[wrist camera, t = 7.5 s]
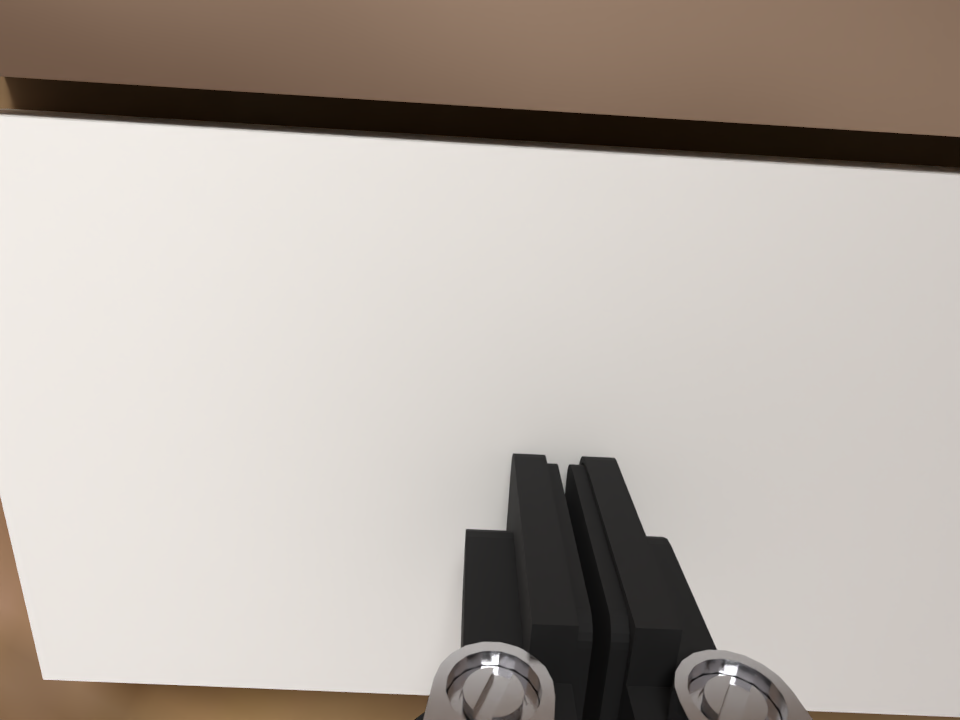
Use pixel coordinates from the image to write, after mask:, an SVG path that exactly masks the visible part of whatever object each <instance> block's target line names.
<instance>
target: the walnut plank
mask: <svg viewBox="0 0 960 720" xmlns="http://www.w3.org/2000/svg"><path fill="white" fill-rule="evenodd" d="M0 76H3V77H18V78H34V79H50V80H66V81H82V82H98V83H114V84H129V85H145V86H161V87H177V88H193V89H209V90H225V91H240V92H256V93H272V94H288V95H304V96H320V97H336V98H351V99H367V100H383V101H399V102H415V103H431V104H447V105H462V106H478V107H494V108H510V109H526V110H542V111H558V112H573V113H589V114H605V115H621V116H637V117H653V118H669V119H684V120H700V121H716V122H732V123H748V124H764V125H780V126H795V127H811V128H827V129H843V130H859V131H875V132H891V133H906V134H922V135H938V136H954V137H960V0H0Z"/></svg>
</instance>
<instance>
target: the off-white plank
mask: <svg viewBox="0 0 960 720" xmlns="http://www.w3.org/2000/svg"><path fill="white" fill-rule="evenodd" d="M513 453H516V454H540V455H545V456H546V459H547V463H552V464H558V466H559V471H560V475H561V480H562V484H563V489H564V493H565V488H566V479H567V471H568V466H569V464H576V465H579V462H580V459H581V457H582V456H587V457H611V458H615V459H616V460H617V463H618V465H619V468H620V470H621V473H622V476H623V478H624V481H625V483H626V486H627V488H628V491H629V493H630V496H631V499H632V501H633V504H634V506H635V509H636V511H637V514H638V516H639V519H640V521H641V524H642V527H643V529H644V532H645V534H646V536H657V537H665V538H667V539H668V541H669V543H670V544H671V546H672V549H673V551H674V553H675V555H676V558H677V560H678V562H679V564H680V567H681V569H682V571H683V573H684V576H685V578H686V580H687V583H688V585H689V587H690V589H691V592H692V594H693V596H694V598H695V601H696V603H697V605H698V608H699V610H700V612H701V614H702V617H703V619H704V621H705V623H706V626H707V628H708V630H709V633H710V635H711V637H712V639H713V642H714V644H715V646H716V648H717V650H726V651H730V652H734V653H738V654H741V655H745V656H747V657H749V658H751V659H753V660H755V661H757V662H759V663H762V664H763V665H765V666H766V667H767V668H769V669H770V670H772V671H773V672H774V673H776V674H777V675H778V676H779V677H780V678H781V679H782V680H783V681H784V682H785V683H786V684H787V685H788V686H789V688H790V689H791V690H792V691H793V692H794V694H795V695H796V697H797V698H798V699H799V701H800V702H801V704H802V705H803V706H804V708H805V709H806V711H823V712H847V713H871V714H896V715H920V716H944V717H960V168H959V167H943V166H927V165H910V164H894V163H878V162H862V161H846V160H830V159H814V158H797V157H781V156H765V155H749V154H733V153H717V152H700V151H684V150H668V149H652V148H636V147H620V146H604V145H587V144H571V143H555V142H539V141H523V140H507V139H490V138H474V137H458V136H442V135H426V134H410V133H394V132H377V131H361V130H345V129H329V128H313V127H297V126H280V125H264V124H248V123H232V122H216V121H200V120H184V119H167V118H151V117H135V116H119V115H103V114H87V113H70V112H54V111H38V110H22V109H0V496H1V501H2V505H3V509H4V513H5V518H6V522H7V526H8V531H9V535H10V539H11V544H12V548H13V552H14V556H15V561H16V565H17V569H18V574H19V578H20V582H21V586H22V591H23V595H24V599H25V604H26V608H27V612H28V616H29V621H30V625H31V629H32V634H33V638H34V642H35V646H36V651H37V655H38V659H39V664H40V668H41V672H42V676H43V679H44V680H68V681H93V682H117V683H141V684H166V685H190V686H214V687H239V688H263V689H287V690H312V691H336V692H360V693H385V694H409V695H430V691H431V687H432V683H433V679H434V677H435V675H436V672H437V670H438V668H439V666H440V664H441V663H442V662H443V661H444V660H445V659H446V658H447V657H448V656H449V655H450V654H451V653H453V652H455V651H456V650H458V649H460V648H461V621H462V594H463V571H464V551H465V533H466V529H480V530H505V531H506V527H507V513H508V500H509V487H510V474H511V462H512V455H513Z"/></svg>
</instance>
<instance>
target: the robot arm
mask: <svg viewBox="0 0 960 720" xmlns="http://www.w3.org/2000/svg"><path fill="white" fill-rule="evenodd" d="M415 720H813V719H812V718H811V716H810V715H809V714H808V712H807V711H806V709H805V708H804V706H803V705H802V704H801V702H800V701H799V699H798V698H797V697H796V695H795V694H794V692H793V691H792V690H791V689H790V688H789V686H788V685H787V684H786V683H785V682H784V681H783V680H782V679H781V678H780V677H779V676H778V675H777V674H776V673H774V672H773V671H772V670H770V669H769V668H767V667H766V666H765V665H763V664H762V663H759V662H757V661H755V660H753V659H751V658H749V657H747V656H745V655H741V654H738V653H734V652H730V651H726V650H717V648H716V646H715V644H714V642H713V639H712V637H711V635H710V633H709V630H708V628H707V626H706V623H705V621H704V619H703V617H702V614H701V612H700V610H699V608H698V605H697V603H696V601H695V598H694V596H693V594H692V592H691V589H690V587H689V585H688V583H687V580H686V578H685V576H684V573H683V571H682V569H681V567H680V564H679V562H678V560H677V558H676V555H675V553H674V551H673V549H672V546H671V544H670V543H669V541H668V539H667V538H665V537H657V536H646V534H645V532H644V529H643V527H642V524H641V521H640V519H639V516H638V514H637V511H636V509H635V506H634V504H633V501H632V499H631V496H630V493H629V491H628V488H627V486H626V483H625V481H624V478H623V476H622V473H621V470H620V468H619V465H618V463H617V460H616V459H615V458H611V457H587V456H582V457H581V459H580V462H579V465H576V464H569V466H568V471H567V479H566V488H565V493H564V489H563V484H562V480H561V475H560V471H559V466H558V464H552V463H547V459H546V456H545V455H540V454H516V453H513V455H512V462H511V474H510V487H509V500H508V513H507V527H506V531H505V530H480V529H466V533H465V551H464V571H463V594H462V621H461V648H460V649H458V650H456V651H455V652H453V653H451V654H450V655H449V656H448V657H447V658H446V659H445V660H444V661H443V662H442V663H441V664H440V666H439V668H438V670H437V672H436V675H435V677H434V679H433V683H432V687H431V691H430V695H429V699H428V703H427V706H426V710H425V712H424V713H423V714H422V715H420V716H419V717H418V718H416V719H415Z"/></svg>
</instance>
